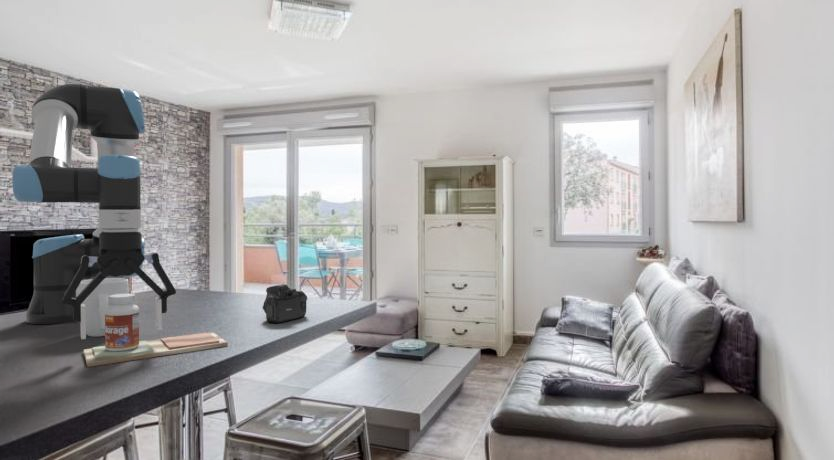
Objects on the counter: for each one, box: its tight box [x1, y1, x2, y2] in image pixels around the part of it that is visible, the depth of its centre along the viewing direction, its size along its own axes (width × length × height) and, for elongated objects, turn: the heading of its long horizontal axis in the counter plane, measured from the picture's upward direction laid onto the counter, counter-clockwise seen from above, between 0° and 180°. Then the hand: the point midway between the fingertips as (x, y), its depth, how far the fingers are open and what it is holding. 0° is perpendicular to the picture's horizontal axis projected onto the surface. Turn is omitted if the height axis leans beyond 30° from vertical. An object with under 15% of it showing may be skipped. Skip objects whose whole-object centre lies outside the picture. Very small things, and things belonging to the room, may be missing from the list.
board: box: [83, 331, 229, 368], centre depth 109 cm, size 12×26×1 cm, turn 126°
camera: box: [262, 283, 308, 324], centre depth 141 cm, size 13×10×10 cm
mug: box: [76, 277, 130, 338], centre depth 122 cm, size 15×11×13 cm
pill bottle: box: [104, 293, 140, 352], centre depth 105 cm, size 6×6×11 cm
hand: (122, 333), depth 105 cm, fingers open, 13 cm apart
